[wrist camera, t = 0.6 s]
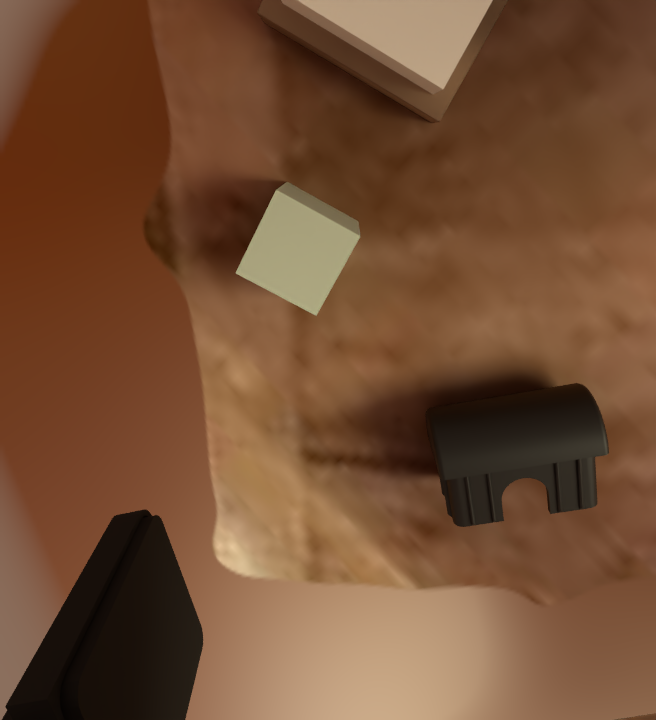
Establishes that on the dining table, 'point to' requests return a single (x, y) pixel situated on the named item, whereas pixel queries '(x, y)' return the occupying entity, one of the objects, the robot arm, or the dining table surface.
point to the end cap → (517, 450)
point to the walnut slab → (372, 69)
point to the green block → (299, 248)
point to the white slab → (402, 32)
